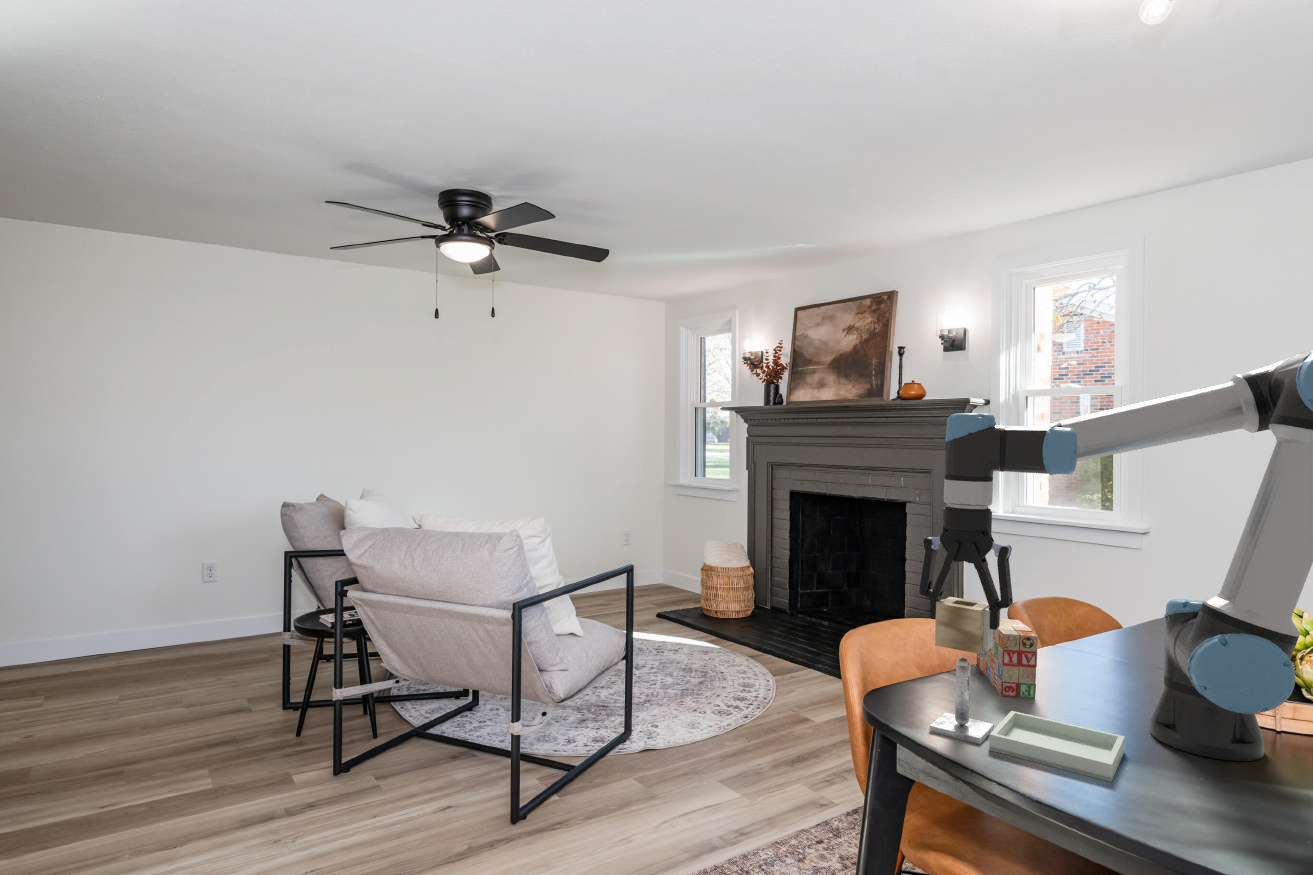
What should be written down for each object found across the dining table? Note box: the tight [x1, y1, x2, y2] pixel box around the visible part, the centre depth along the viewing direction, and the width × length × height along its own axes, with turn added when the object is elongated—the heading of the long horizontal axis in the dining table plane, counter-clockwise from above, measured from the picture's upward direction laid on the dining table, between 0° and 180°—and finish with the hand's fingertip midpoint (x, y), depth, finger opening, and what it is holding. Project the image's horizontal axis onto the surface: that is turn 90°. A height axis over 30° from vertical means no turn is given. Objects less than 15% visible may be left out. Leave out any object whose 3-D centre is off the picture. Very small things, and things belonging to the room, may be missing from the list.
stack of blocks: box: [976, 618, 1039, 700], centre depth 155 cm, size 21×6×12 cm, turn 169°
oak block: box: [934, 596, 989, 655], centre depth 127 cm, size 7×7×7 cm
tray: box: [988, 710, 1126, 783], centre depth 120 cm, size 17×14×2 cm
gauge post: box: [929, 657, 995, 745], centre depth 127 cm, size 8×8×12 cm
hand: (963, 643), depth 127 cm, fingers closed on oak block, 7 cm apart
